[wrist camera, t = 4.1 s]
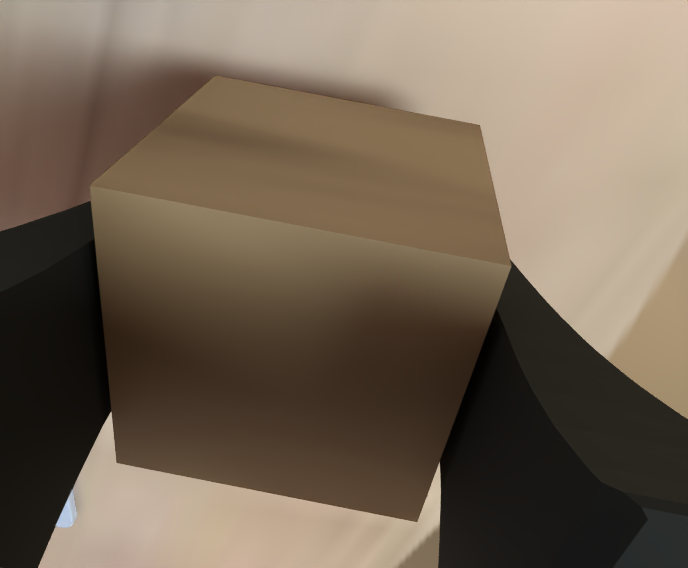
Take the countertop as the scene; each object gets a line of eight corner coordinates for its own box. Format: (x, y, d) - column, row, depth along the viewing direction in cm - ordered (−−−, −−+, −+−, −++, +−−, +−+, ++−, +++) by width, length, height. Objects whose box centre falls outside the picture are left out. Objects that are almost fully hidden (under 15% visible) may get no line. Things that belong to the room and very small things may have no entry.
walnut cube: (420, 332, 14) (417, 521, 10) (209, 292, 14) (116, 462, 10) (480, 125, 11) (511, 266, 7) (215, 75, 11) (89, 185, 7)
